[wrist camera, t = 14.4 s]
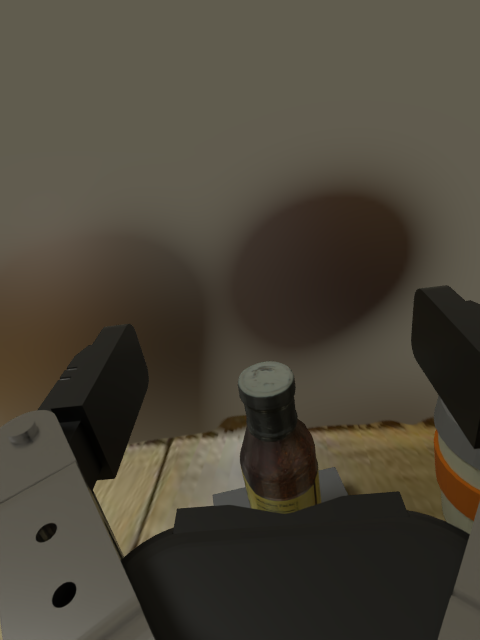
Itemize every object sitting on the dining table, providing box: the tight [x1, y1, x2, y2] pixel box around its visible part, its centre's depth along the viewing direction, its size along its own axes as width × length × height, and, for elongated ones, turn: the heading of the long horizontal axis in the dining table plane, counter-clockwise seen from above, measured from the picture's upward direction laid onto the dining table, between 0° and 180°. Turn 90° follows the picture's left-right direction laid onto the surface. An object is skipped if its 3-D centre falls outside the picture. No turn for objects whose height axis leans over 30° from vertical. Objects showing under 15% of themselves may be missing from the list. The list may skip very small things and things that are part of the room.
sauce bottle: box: [238, 362, 321, 514], centre depth 32 cm, size 6×6×20 cm
